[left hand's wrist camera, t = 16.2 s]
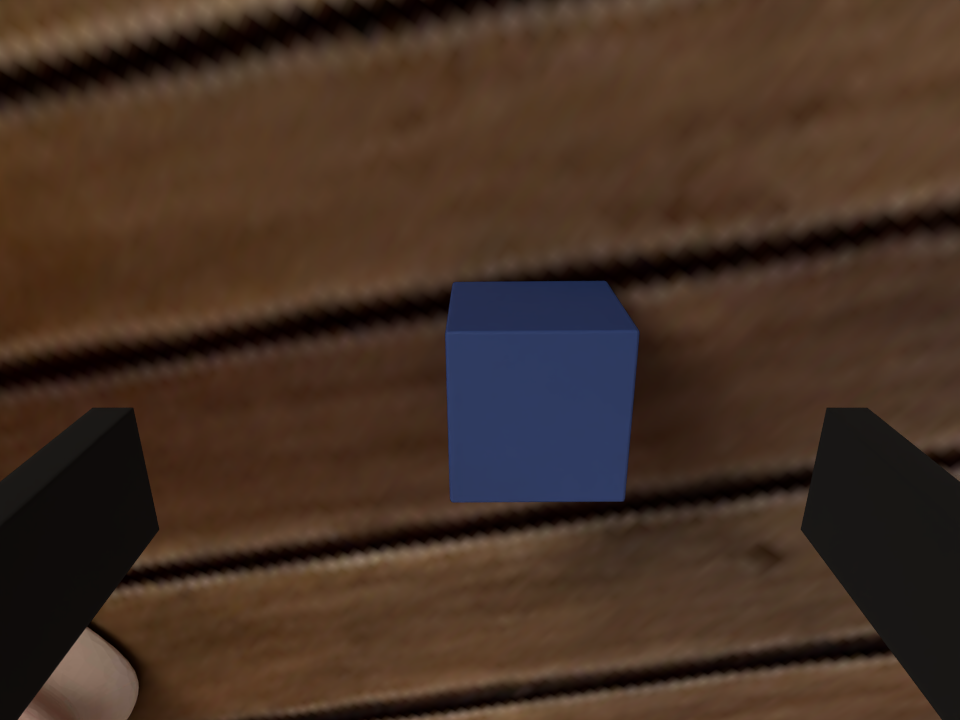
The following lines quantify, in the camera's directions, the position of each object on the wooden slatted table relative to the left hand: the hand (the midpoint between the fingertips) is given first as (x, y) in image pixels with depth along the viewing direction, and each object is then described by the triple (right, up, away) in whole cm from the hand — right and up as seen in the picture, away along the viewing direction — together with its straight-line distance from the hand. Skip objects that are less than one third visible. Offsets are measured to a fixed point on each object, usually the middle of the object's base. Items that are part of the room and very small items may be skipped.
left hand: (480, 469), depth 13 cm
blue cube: (+2, +2, +9) cm, 9 cm away
